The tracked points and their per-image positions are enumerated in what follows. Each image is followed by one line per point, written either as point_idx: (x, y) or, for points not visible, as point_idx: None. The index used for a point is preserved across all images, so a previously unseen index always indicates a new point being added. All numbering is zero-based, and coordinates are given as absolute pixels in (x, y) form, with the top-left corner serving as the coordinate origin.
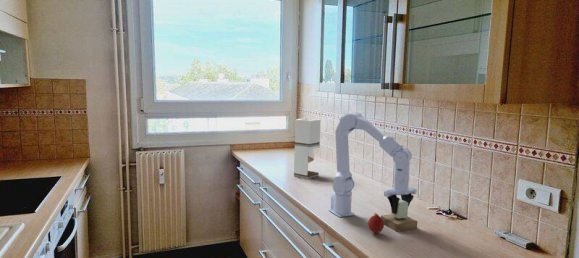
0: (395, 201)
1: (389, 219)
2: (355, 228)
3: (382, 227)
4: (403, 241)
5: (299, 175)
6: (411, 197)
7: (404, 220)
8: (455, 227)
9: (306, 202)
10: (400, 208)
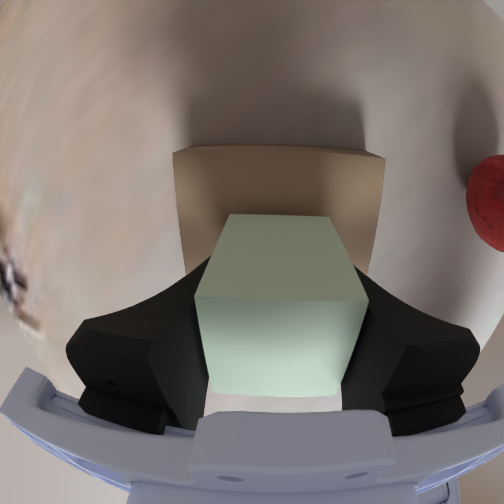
0: (442, 322)
1: (362, 255)
2: (482, 273)
3: (498, 156)
4: (418, 34)
5: None
6: (115, 334)
7: (269, 197)
8: (17, 127)
9: None
10: (328, 259)
